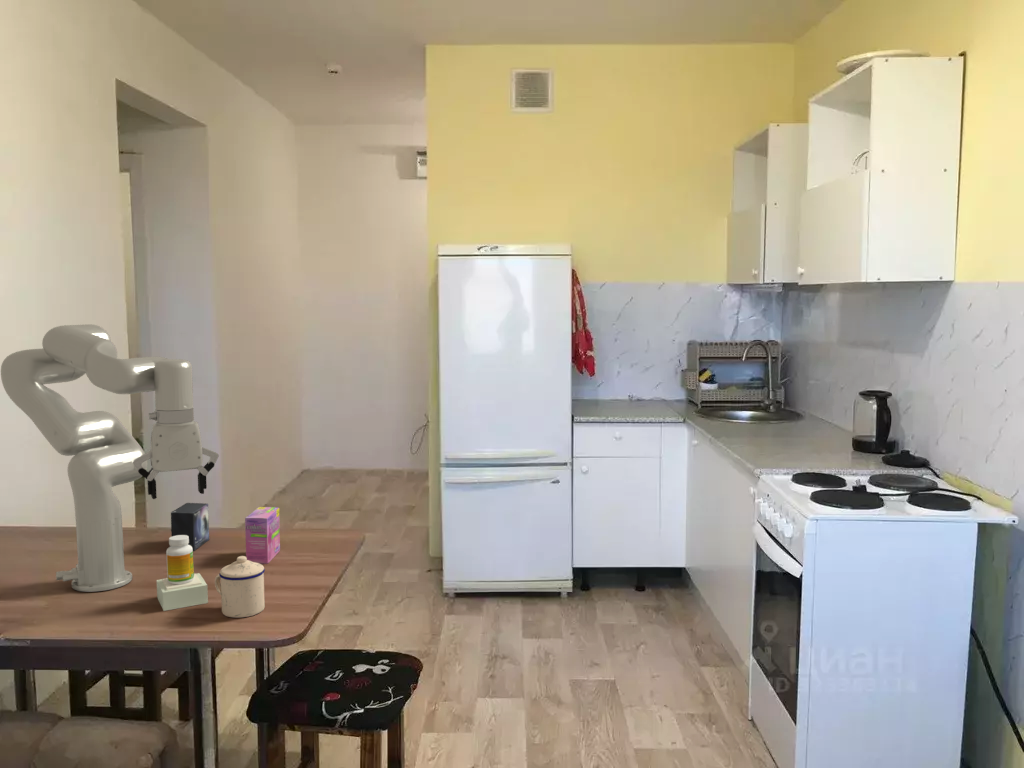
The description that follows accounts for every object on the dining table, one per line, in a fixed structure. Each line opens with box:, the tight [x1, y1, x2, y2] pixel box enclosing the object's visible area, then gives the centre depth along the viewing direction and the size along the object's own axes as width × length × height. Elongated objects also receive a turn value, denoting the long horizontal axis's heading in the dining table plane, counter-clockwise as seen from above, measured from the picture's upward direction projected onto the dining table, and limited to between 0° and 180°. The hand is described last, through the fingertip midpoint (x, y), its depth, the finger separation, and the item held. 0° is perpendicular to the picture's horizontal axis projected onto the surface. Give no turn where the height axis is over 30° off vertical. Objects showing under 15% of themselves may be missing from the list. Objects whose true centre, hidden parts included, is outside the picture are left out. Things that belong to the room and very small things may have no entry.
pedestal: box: [156, 572, 209, 612], centre depth 181 cm, size 9×9×4 cm
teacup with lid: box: [214, 555, 266, 619], centre depth 176 cm, size 12×9×12 cm
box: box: [244, 506, 281, 565], centre depth 210 cm, size 10×6×12 cm, turn 179°
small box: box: [170, 502, 210, 552], centre depth 220 cm, size 11×6×10 cm, turn 179°
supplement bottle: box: [165, 535, 195, 584], centre depth 180 cm, size 5×5×10 cm
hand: (177, 495), depth 180 cm, fingers open, 9 cm apart
